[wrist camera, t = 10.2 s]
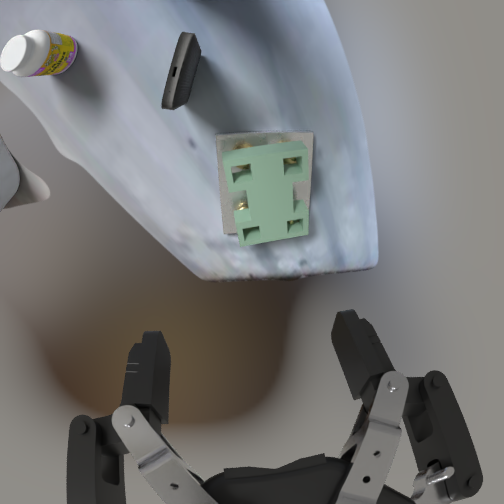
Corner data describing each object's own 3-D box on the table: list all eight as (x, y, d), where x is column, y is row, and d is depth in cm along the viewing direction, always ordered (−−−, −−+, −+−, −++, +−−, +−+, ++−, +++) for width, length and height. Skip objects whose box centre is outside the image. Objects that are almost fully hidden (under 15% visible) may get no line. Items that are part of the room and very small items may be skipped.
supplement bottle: (54, 82, 26) (4, 91, 16) (40, 56, 23) (-11, 57, 12) (85, 54, 25) (39, 50, 15) (70, 27, 21) (23, 17, 11)
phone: (194, 50, 29) (181, 29, 16) (201, 52, 29) (193, 31, 17) (180, 101, 33) (159, 110, 20) (187, 103, 33) (171, 112, 21)
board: (238, 233, 43) (240, 246, 41) (221, 152, 33) (222, 161, 31) (303, 222, 43) (308, 234, 41) (301, 140, 33) (308, 148, 31)
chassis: (223, 229, 45) (224, 245, 41) (215, 134, 36) (215, 140, 32) (304, 222, 47) (313, 237, 43) (310, 131, 37) (321, 137, 34)
